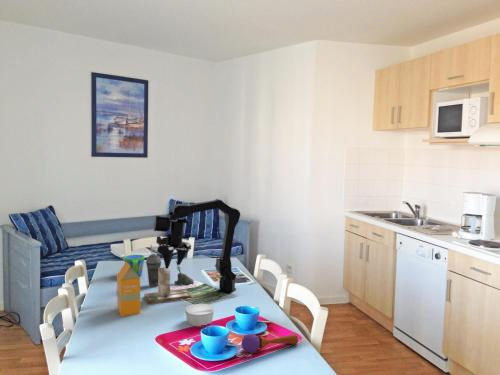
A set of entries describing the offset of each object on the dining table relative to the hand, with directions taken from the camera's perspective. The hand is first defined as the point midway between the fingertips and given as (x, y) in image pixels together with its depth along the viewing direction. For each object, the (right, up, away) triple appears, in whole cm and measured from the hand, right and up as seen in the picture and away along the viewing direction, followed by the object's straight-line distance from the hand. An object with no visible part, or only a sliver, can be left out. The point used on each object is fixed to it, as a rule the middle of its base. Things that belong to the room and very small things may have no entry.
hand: (172, 266), depth 192 cm
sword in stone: (+2, -13, +21) cm, 25 cm away
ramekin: (+15, -17, -27) cm, 35 cm away
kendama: (+42, -19, -48) cm, 66 cm away
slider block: (-3, -12, -3) cm, 13 cm away
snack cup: (-26, -11, +33) cm, 43 cm away
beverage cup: (-12, -13, +16) cm, 24 cm away
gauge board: (-2, -14, -1) cm, 14 cm away
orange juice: (-15, -15, -17) cm, 27 cm away
